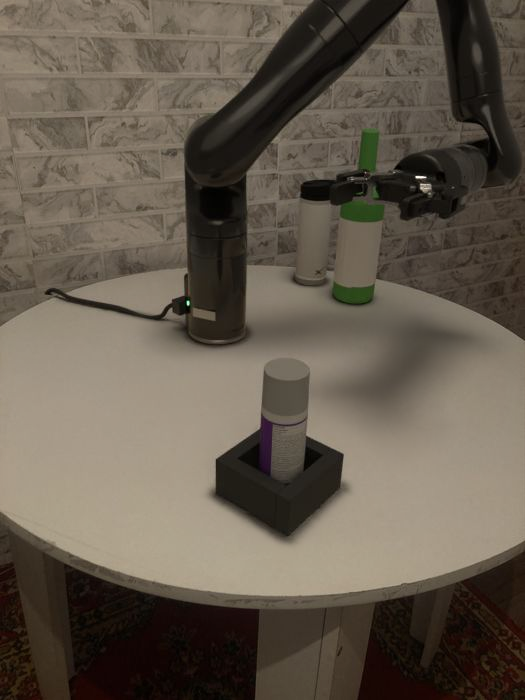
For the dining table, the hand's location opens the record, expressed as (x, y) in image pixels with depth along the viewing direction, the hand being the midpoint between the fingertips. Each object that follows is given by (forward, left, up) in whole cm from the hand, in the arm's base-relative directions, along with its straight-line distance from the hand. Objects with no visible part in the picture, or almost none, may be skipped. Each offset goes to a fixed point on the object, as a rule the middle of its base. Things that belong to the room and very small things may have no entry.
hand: (367, 203), depth 63 cm
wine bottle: (-24, +35, -28) cm, 51 cm away
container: (+3, -15, -28) cm, 32 cm away
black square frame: (+3, -15, -28) cm, 32 cm away
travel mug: (-35, +36, -28) cm, 58 cm away
